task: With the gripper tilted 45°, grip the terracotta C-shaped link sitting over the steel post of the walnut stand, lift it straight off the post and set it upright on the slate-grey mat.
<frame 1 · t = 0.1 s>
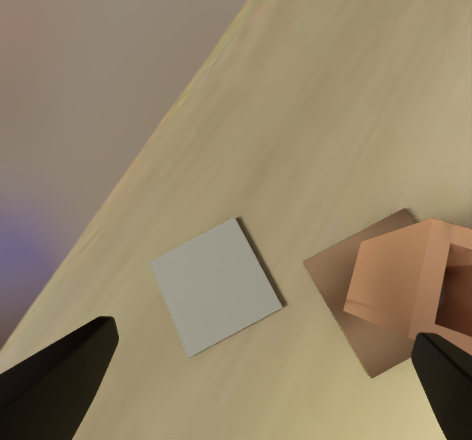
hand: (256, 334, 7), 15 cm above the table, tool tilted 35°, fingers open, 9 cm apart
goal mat: (213, 283, 22), on the table
c link: (389, 287, 20), point 1 cm above the table, touching stand
stand: (384, 287, 21), on the table
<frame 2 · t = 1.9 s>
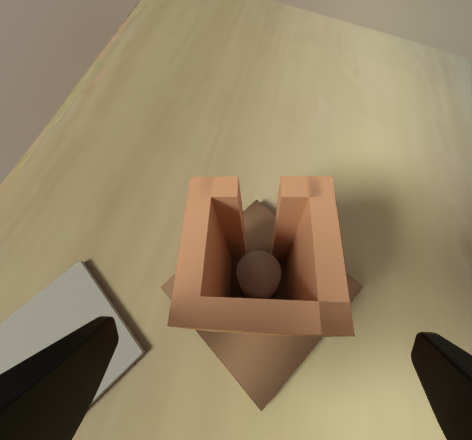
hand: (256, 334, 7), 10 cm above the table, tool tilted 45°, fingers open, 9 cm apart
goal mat: (58, 350, 17), on the table
c link: (258, 287, 17), point 1 cm above the table, touching stand
stand: (258, 289, 18), on the table
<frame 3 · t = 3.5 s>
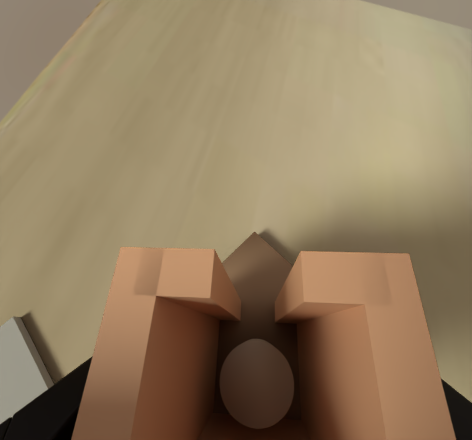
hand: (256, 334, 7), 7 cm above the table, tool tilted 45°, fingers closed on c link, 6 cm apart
c link: (257, 365, 12), point 1 cm above the table, touching gripper, stand
stand: (257, 364, 13), on the table
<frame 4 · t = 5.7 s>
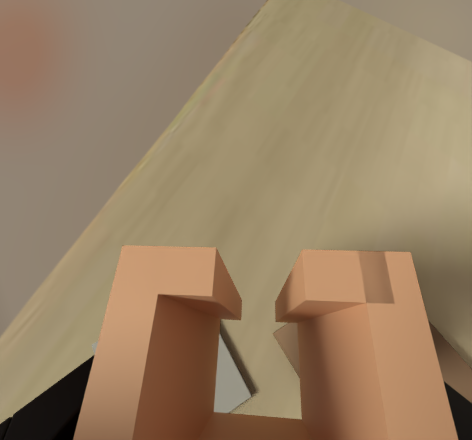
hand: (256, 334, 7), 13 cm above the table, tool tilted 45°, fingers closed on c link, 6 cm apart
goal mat: (168, 368, 19), on the table
c link: (257, 365, 12), point 7 cm above the table, touching gripper
stand: (370, 360, 18), on the table
when the fingers open (8 cm above the table, at t = 7.8 s): c link drops 2 cm, resting on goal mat.
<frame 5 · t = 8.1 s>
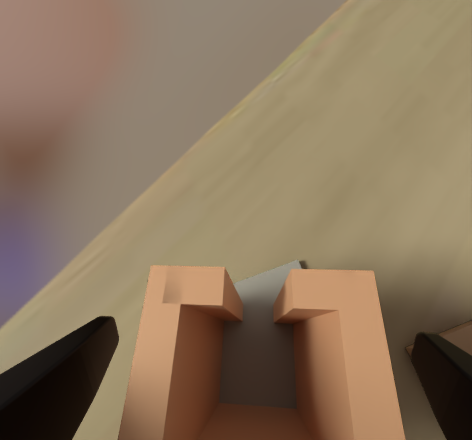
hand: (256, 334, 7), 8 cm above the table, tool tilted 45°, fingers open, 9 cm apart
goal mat: (257, 361, 14), on the table
c link: (257, 361, 14), resting on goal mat
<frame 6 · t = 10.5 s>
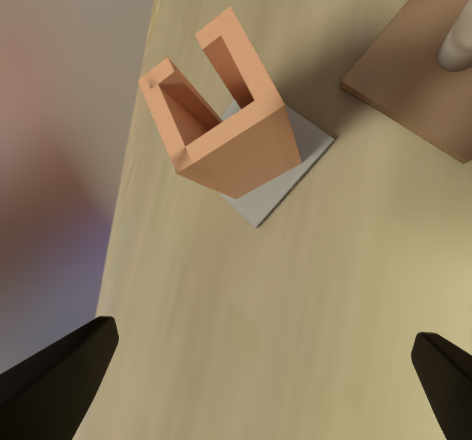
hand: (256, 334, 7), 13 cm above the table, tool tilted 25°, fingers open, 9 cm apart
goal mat: (253, 153, 21), on the table
c link: (252, 151, 21), resting on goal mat
stand: (452, 61, 17), on the table
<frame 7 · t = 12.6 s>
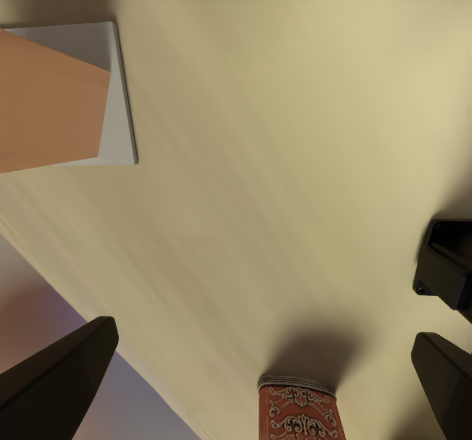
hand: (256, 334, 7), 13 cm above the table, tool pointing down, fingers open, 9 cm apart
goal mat: (69, 102, 18), on the table
c link: (64, 101, 18), resting on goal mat
perfume bottle: (295, 386, 26), on the table
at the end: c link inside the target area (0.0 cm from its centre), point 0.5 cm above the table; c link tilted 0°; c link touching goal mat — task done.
